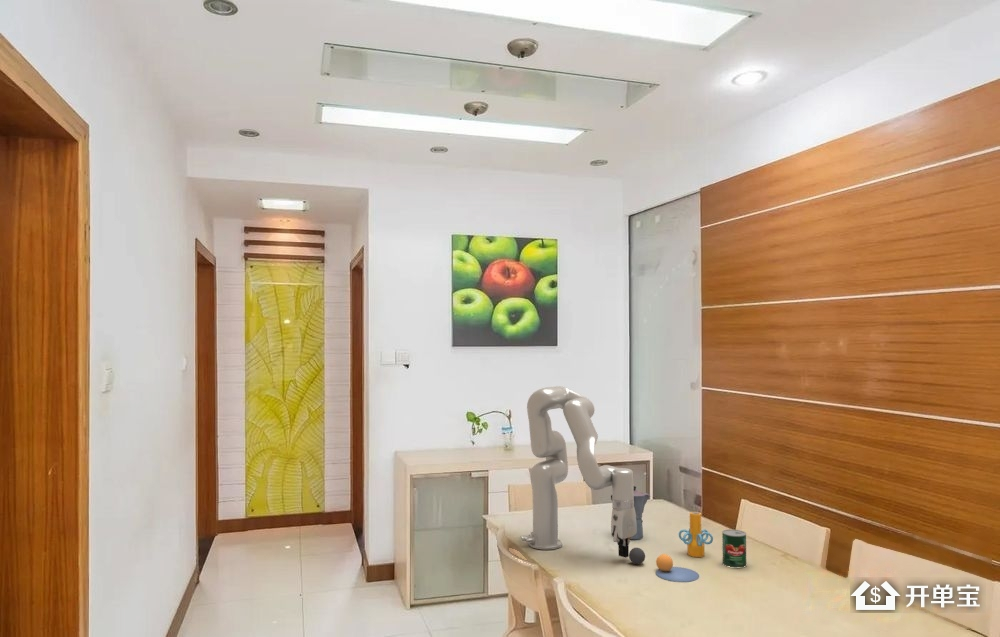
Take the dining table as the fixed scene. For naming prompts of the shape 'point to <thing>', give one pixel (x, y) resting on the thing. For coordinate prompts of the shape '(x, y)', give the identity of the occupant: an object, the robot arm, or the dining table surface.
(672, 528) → the dining table surface
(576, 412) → the robot arm
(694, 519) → the cylinder
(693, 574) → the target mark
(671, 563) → the object ball
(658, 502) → the dining table surface
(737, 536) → the canned tomato
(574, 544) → the dining table surface
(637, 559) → the dark grey ball
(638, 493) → the moka pot
